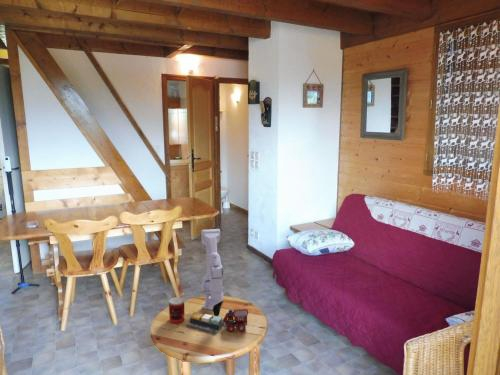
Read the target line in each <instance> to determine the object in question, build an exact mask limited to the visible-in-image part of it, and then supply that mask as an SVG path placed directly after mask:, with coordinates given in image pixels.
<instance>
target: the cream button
mask: <svg viewBox="0 0 500 375" xmlns="http://www.w3.org/2000/svg"><path fill="white" fill-rule="evenodd" d="M204 314H205V315H204V316H203V317H202V321H204V322H208V323H209V322H210V321H211V320H212V316H213V315H212V314H208V313H204Z"/></svg>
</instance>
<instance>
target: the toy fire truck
mask: <svg viewBox="0 0 500 375" xmlns="http://www.w3.org/2000/svg"><path fill="white" fill-rule="evenodd" d="M248 315H249V310H248V308H241V309H229V310H228V312H227V313H226V314H225V316H224V317H223V318H222V319H223V328H226V330H227V332H228V333H233V332H235V330H236V329H237V331H238V332H240V333H244V332H245V330H246V329H247V327H246V326H248ZM236 327H237V328H236Z"/></svg>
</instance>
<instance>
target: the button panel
mask: <svg viewBox="0 0 500 375" xmlns="http://www.w3.org/2000/svg"><path fill="white" fill-rule="evenodd" d="M198 313H199V314H203V316H204V315H205V314H206V313H200V312H198ZM195 314H196V313H194V314H193V315H195ZM214 317H215V316H214V315H212V319H213V318H214ZM223 319H224V318H222V322H221V323H220V324H219V325H215V324H211V321H210V322H209V323H208V322H204V321H202V318H201V319H200V320H196V319H192V316H191V317H190V318H189V321H188V322H187V323H186V324H185V326H186V327H188V328H190V329H195V330H198V331H202V332H205V333H210V334H214V335H217V334H218V333H219V332H220V331H222V329H223V328H224V327H223Z"/></svg>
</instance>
